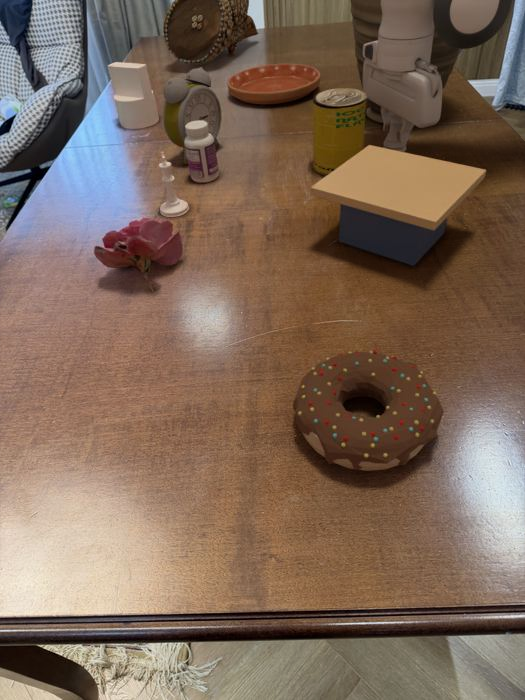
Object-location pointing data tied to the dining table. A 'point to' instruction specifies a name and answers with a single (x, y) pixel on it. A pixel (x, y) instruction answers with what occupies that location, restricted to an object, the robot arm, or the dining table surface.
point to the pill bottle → (201, 152)
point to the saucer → (274, 83)
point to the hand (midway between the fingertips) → (395, 136)
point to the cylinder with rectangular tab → (133, 95)
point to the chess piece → (171, 193)
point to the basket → (206, 28)
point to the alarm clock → (190, 106)
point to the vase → (367, 31)
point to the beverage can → (337, 127)
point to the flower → (141, 245)
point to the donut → (359, 431)
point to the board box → (396, 200)
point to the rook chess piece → (394, 134)
